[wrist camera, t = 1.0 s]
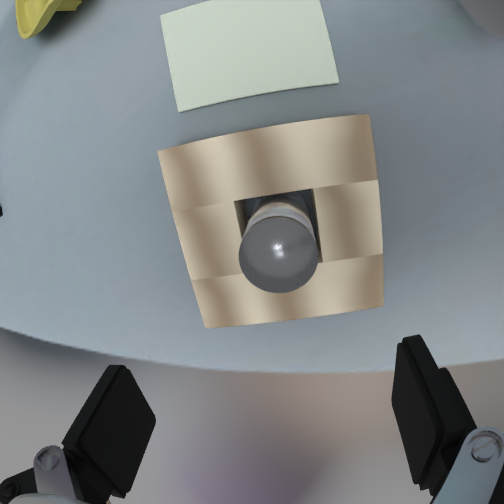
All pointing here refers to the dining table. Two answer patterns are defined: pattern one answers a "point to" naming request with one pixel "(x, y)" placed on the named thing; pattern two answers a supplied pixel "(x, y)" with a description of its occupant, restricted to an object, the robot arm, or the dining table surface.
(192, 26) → the mat
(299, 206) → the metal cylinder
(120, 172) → the dining table surface
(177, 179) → the bore block
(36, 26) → the plastic component
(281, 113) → the dining table surface
